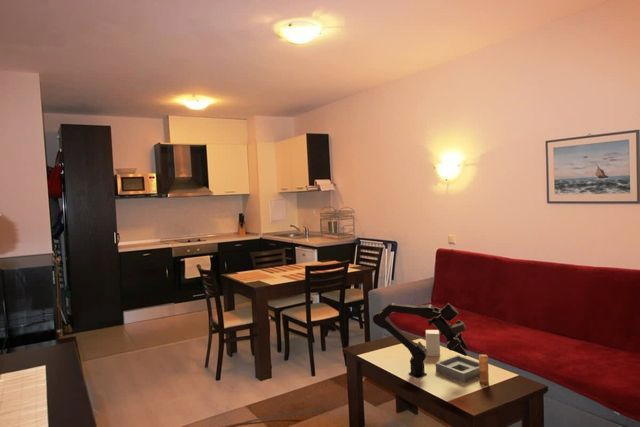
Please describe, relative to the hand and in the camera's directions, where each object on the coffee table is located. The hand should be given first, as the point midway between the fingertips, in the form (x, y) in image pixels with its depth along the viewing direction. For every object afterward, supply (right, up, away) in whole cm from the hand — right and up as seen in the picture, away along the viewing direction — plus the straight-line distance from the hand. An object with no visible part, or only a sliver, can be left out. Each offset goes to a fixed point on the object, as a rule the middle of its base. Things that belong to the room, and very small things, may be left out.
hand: (466, 352), depth 208 cm
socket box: (0, -13, +9) cm, 16 cm away
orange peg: (+7, -13, -4) cm, 16 cm away
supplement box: (-7, -13, +35) cm, 38 cm away
